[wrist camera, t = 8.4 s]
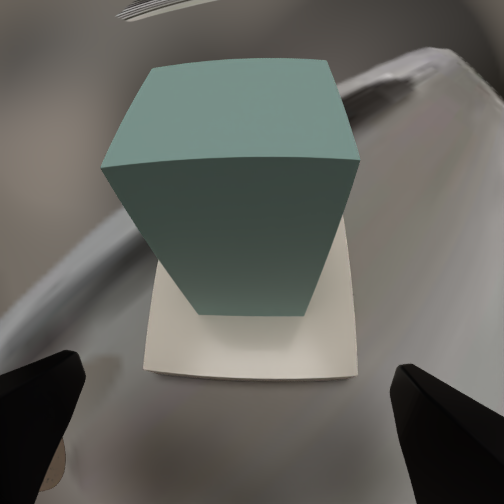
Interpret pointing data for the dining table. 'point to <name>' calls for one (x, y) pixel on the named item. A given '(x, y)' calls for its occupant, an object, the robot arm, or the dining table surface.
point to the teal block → (237, 179)
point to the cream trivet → (258, 333)
